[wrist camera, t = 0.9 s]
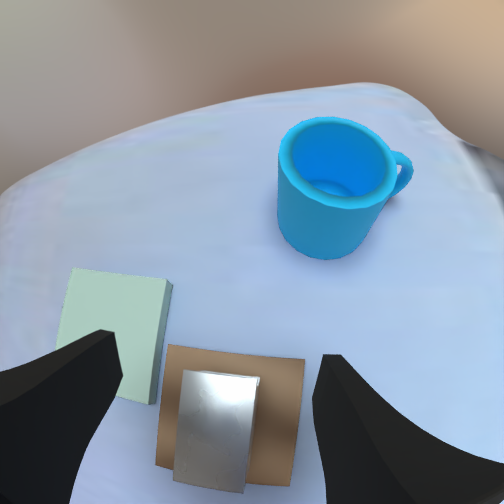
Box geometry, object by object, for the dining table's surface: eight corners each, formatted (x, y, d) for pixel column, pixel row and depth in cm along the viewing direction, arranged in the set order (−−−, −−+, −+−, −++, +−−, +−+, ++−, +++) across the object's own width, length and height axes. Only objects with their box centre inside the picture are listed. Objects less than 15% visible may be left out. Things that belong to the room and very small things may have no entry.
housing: (249, 466, 17) (243, 493, 12) (194, 457, 17) (172, 480, 12) (260, 376, 19) (256, 379, 14) (204, 370, 20) (183, 369, 15)
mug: (294, 271, 24) (304, 223, 16) (266, 191, 27) (262, 127, 19) (413, 235, 24) (455, 185, 17) (377, 166, 27) (400, 108, 20)
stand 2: (288, 479, 17) (289, 486, 16) (162, 460, 18) (155, 465, 17) (302, 360, 21) (304, 359, 20) (174, 345, 22) (168, 343, 20)
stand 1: (155, 403, 20) (147, 404, 19) (61, 373, 21) (52, 372, 20) (172, 284, 24) (166, 279, 22) (80, 272, 25) (72, 267, 24)
